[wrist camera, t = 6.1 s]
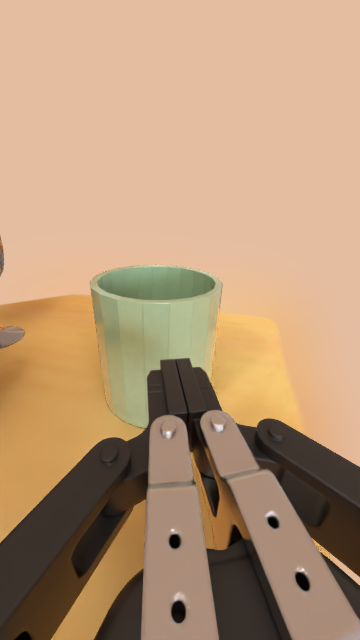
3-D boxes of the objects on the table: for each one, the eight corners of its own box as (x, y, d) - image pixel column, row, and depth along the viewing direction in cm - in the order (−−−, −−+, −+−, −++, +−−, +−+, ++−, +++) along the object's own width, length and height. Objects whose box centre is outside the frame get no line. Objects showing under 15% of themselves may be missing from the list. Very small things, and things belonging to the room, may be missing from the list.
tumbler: (140, 453, 18) (132, 317, 13) (89, 378, 26) (71, 273, 21) (230, 392, 25) (249, 285, 20) (168, 347, 33) (170, 261, 27)
